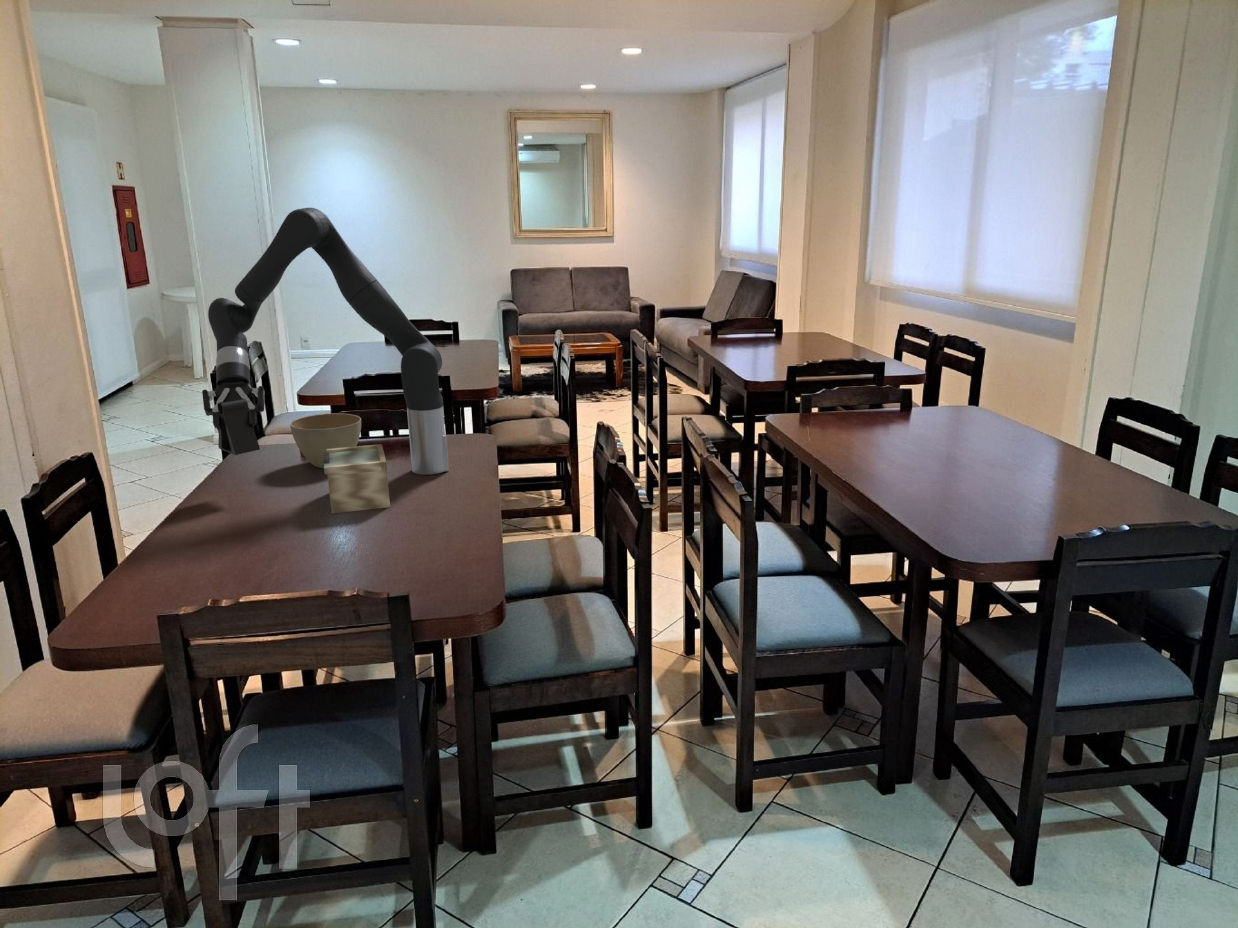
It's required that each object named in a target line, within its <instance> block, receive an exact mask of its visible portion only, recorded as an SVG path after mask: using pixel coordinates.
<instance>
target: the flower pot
mask: <svg viewBox="0 0 1238 928" xmlns="http://www.w3.org/2000/svg"><path fill="white" fill-rule="evenodd" d="M289 426H290V430H291V434H292V438H293V440H294V441H295V444H296V447H297V448H298V449H299V451H300V453H301V454H302V456H304V457H305V459H306V460H307V461H308V462H309V463H310V464H312V465H313V467H316V468H320V469H324V459H323V457H324V453H327V451H326V449H333V448H344V447H355V446H358V443H359V440H360V436H361V429H362V418H361V417H360V416H359V415H355V414H349V413H322V414H321V413H320V414H314V415H308V416H303V417H299V418H296V419H294V420H291V422H290V424H289Z"/></svg>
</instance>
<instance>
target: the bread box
mask: <svg viewBox="0 0 1238 928" xmlns="http://www.w3.org/2000/svg"><path fill="white" fill-rule="evenodd" d="M326 451H327V453H324V457H323V459H324V468H323V471H324V472H323V473H324V475H327V484H328V491H329V492H328V493H329V501H330V509H331V514H340V513H341V514H342V513H349V512H357V511H358V512H359V511H366V510H375V509H376V510H377V509H384V508H390V507H391V503H390V502H391V499H390V490H389V481H388V480H389V479H388V469H387V461H386V456H385V452H384V448H383V444H382V443H381V444H380V443H379V444H368V445H357V446H355V447H344V448H333V449H326Z"/></svg>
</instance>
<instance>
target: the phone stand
mask: <svg viewBox="0 0 1238 928" xmlns="http://www.w3.org/2000/svg"><path fill="white" fill-rule="evenodd" d="M218 412H219V420H220V426H221V430H218V440H217V441H218V443H217V445H218V447H217V448H218V449H219V450H222V451H224V452H227V453H229V454H231V455H234V456H237V455H242V454H247V453H251V452H255V451H259V450H260V444H259V441H258V438H257V435H256V431H255V428H254V427H255V426H254V427H250V423H249V410H248V403H247V400H246V399H244V398H242V399H236V400H231V401H225V402H220V403H218Z"/></svg>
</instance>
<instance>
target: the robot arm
mask: <svg viewBox="0 0 1238 928" xmlns="http://www.w3.org/2000/svg"><path fill="white" fill-rule="evenodd" d="M329 218H330V217H328V216H327V215H326V213H324V212H323V211H321V210H320V209H318V208H315V207H303V208H297V209H294V210H292V211H290V213H288V214H287V215H286V216H285V219H284V220H283V222H282V224H281V225H280V227H279V229H278V230H277V233H275V236H274V238H273V240H272V241H271V242H270V244H269V246H268V247H267V248H266V250H265V251H264V253H263V254H262V255H261V257H260V258H259V259H258V260H257V261H256V263H254V265H253V266H252V267H251V268H250V269H249V271H248V272H247V273H246V274H245V276H244V277H243V278H241V280H240V281H239V282H238V284H236V286H235V289H234V293H235V294H234V295H235V296H236V297H237V299H238V300H239V301H240V302H241V303H242V304H243V305H241V304H239V303H237V302H235V301H233V300H231V299H228V298H224V297H218V298H216V299H214V300H212V302H210V305H209V306H208V312H207V316H208V323H209V325H210V328H211V330H212V332H213V333H212V334H213V336H214V339H215V341H216V357H215V373H216V377H215V378H216V387H215V389H214V390H211V391H208V389H203V390H202V391H201V393H202V402H203V409H204V414H205V415H206V416H208V417H210V416H211V417H212V424H213V427H214V429H215V428H216V430H217V431H219V430H221V426H220V420H219V412H218V403H220V402H225V401H231V400H236V399H242V398H244V399H246V400H247V403H248V410H249V423H250V427H255V426H256V425H257V414H258V413H259V412H260V413H263V412H264V411H265V400H266V398H265V396H266V392H265V389H264V386H263V385H260V386H258V387H252V386H251V366H250V358H249V352H248V338H247V337H246V335H245V334H244V333H246V332H248V331H249V330H250V329H251V328H252V326H253V324H254V322H255V320H256V317H257V314H258V312H259V310H260V308H261V306H262V304H263V303H264V302H265V301H266V299H267V298H268V297H269V296H270V295H271V294H272V293H273V291H274V290H275V289H276V287H277V286H278V284H279V283H280V281H281V279H282V277H283V276H284V274H285V271H286V270H287V268H288V267H289V266H290V264H291V263H292V262H293V261H294V260H295V259H296V258H297V257H298V256H300V255H301V254H302V253H303V252H305V251H306V250H307V249H309V248H311V249H312V250H313V251H314V252H315V253H316V254H317V255H319V257H320V258H321V259H322V260H323V262H325V264H326V265H327V266H328V268H329V269H330V271H331V273H332V276H333V278H334V280H335V282H336V284H337V287H338V289H339V291H340V293H341V295H342V296H343V298H344V299H345V301H346V302H347V303H348V304H349V305H350V307H351V308H352V309H353V311H354V312H356V314H357V315H359V317H360V318H361V319H362V320H363V321H364V322H365V323H367V324H368V325H369V326H370V327H372V328H373V329H374V330H376V331H377V332H378V333H380V334H381V335H383V336H384V337H385V338H387V339H388V340H389V341H390V343H392V344H393V346H394V347H395V348H396V350H397V351H398V353H400V355H401V361H400V375H401V383H402V391H403V396H404V400H405V403H406V414H407V415H406V416H407V425H408V426H407V427H408V437H409V449H410V450H409V451H410V463H411V465H410V466H411V469H412V470H411V471H412V473H413V474H416V475H424V476H425V475H428V476H429V475H430V476H431V475H437V474H441V473H443V472H449V471H450V467H449V454H448V453H449V452H448V441H447V435H446V428H445V417H444V416H445V413H444V400H443V399H444V398H443V396H442V394H441V391H440V383H439V373H440V371H441V369H442V366H443V358H442V355H441V354H442V353H440V351H439V350H438V348H437V347H436V345H434V344H433V343H432V342H431V341H430V340H429V339H428V338H427V337H426V336H425V335H423V333H422V332H421V331H420V330H418V329H417V328H416V326H415V325H414V324H413V323H412V322H411V321H410V319H408V317H407V316H406V314H405V313H404V312H403V310H402V308H401V307H399V305H398V304H397V302H396V301H395V300H394V299H393V298H392V296H391V295H390V294H389V293H388V291H387V290H386V289H385V288H384V286H383V285H382V284H381V283H380V282H379V281H378V279H377V278H376V277H375V275H373V274H372V273H371V272H370V270H369V269H368V267H367V266H365V263H363V262H362V260H361V259H360V258H359V257H358V256H357V255H356V254H355V253H354V252H353V250H352V249H351V248H350V247H349V246H348V244H347V243H346V241H345V240H344V238H343V237H342V236H341V234H340V232H339V231H338V230H337V228H336V227H335V225H334V224H333V222H332V221H331V220H330V219H329ZM253 394H254V395H255V397H256V398H257V403H256V404H255V405H254V403H253V402H252V401H251V399H250V398H251V396H252V395H253ZM214 397H216V398H217V400H216V404H215V405H214V406H213V407H211V402H212V401H213V399H214Z"/></svg>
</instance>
